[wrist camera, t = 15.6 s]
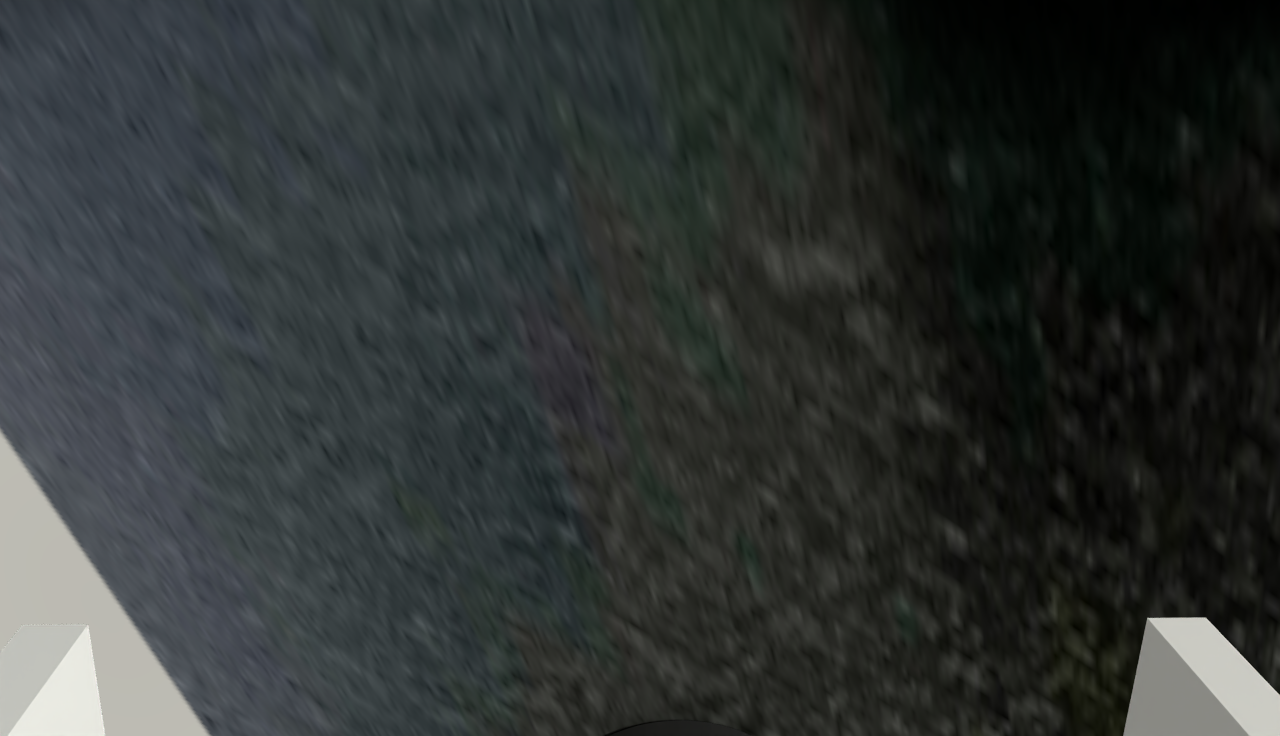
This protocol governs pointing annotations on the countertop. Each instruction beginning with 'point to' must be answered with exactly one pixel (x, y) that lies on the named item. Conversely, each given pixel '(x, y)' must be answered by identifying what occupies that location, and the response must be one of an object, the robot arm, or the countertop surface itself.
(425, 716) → the countertop surface
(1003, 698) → the countertop surface
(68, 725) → the robot arm
